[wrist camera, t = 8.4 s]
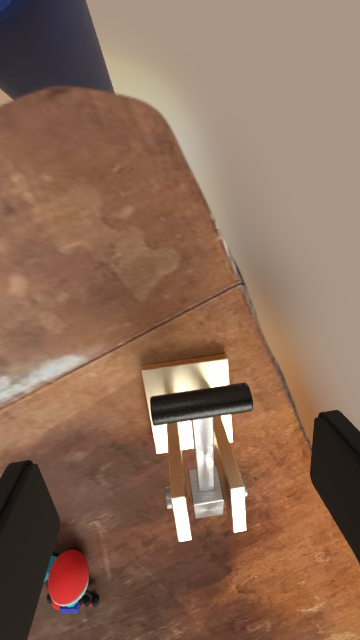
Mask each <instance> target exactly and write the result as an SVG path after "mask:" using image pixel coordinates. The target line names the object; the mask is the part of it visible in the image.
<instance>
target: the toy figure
mask: <svg viewBox="0 0 360 640" xmlns="http://www.w3.org/2000/svg"><path fill="white" fill-rule="evenodd" d="M46 579H48V591H49V594H48V595H47V601H48V603H52V605H53V608H54V609H58V610H60V612H61V613H62V614H71V613H72V614H78V612H79V608H80V606H86V607H88V606H93V607H96V606H97V605H98V604H99V601H100V600H99V595H98V594H94V595H93V596H92V594H90V593H89V592H88V591H87V590H86V589H87V586H88V581H89V567H88V563H87V561H86V558H85V557H84V555H83V554H82V553H81V552H79V551H77V550H72V549H71V550H67V551H64V552H63V553H61V554H60V555H59V556H58V557H55V556H51V560H50V563H49V566H48V570H47V573H46V577H45V580H44V582H45V581H46Z"/></svg>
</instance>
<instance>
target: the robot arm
mask: <svg viewBox="0 0 360 640" xmlns="http://www.w3.org/2000/svg"><path fill="white" fill-rule="evenodd" d="M310 477H311V481H312V483H313V485H314V487H315V489H316V490H317V492H318V494H319V495H320V497H321V499H322V500H323V502H324V504H325V505H326V507H327V509H328V510H329V512H330V514H331V515H332V517H333V519H334V520H335V522H336V524H337V525H338V527H339V529H340V530H341V532H342V534H343V535H344V537H345V539H346V540H347V542H348V544H349V545H350V547H351V549H352V550H353V552H354V554H355V555H356V557H357V559H358V560H359V562H360V431H358V429H357V428H356V427H355V426H354V425H353V424H352V423H351V422H350V421H349V420H348V419H347V418H346V417H345V416H344V415H343V414H342V413H341V412H340V411H338V410H333V411H327V412H321V413H319V415H318V418H315V420H314V431H313V443H312V456H311V468H310ZM59 527H60V519H59V516H58V513H57V511H56V508H55V506H54V504H53V501H52V499H51V496H50V494H49V491H48V489H47V487H46V484H45V482H44V479H43V477H42V474H41V472H40V469H39V467H38V465H37V464H33V463H32V461H30V460H27V461H21V462H15V463H10V464H9V465H8V466H7V468H6V469H5V471H4V473H3V475H2V476H1V478H0V640H27V638H28V635H29V631H30V628H31V625H32V621H33V618H34V614H35V611H36V608H37V604H38V601H39V597H40V594H41V590H42V587H43V584H44V580H45V577H46V573H47V570H48V566H49V563H50V560H51V556H52V553H53V549H54V546H55V543H56V539H57V536H58V532H59Z"/></svg>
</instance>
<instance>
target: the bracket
mask: <svg viewBox="0 0 360 640" xmlns="http://www.w3.org/2000/svg"><path fill="white" fill-rule="evenodd" d="M141 373H142V379H143V384H144V389H145V395H146V400H147V406H148V411H149V416H150V422H151V427H152V433H153V438H154V444H155V449H156V454H160V453H166V452H168V459H169V476H170V487H166V488H165V496H166V505H167V509H173V514H174V520H175V526H176V531H177V537H178V541H179V542H181V541H187V540H191V539H192V535H191V526H190V518H189V509H188V501H187V492H186V483H185V475H184V466H183V458H182V450H185V449H192V448H194V444H193V435H192V425H191V421H185V422H178V423H172V424H165V425H158V426H154V425H153V423H152V418H151V410H150V398H151V397H152V396H157V395H164V394H171V393H178V392H184V391H191V390H198V389H205V388H211V387H218V386H225V385H230V382H229V365H228V358H227V356H226V354H219V355H212V356H205V357H198V358H191V359H184V360H177V361H170V362H163V363H156V364H149V365H142V368H141ZM213 434H214V458H215V462H216V466H217V468H218V473H219V478H220V482H221V486H222V490H223V494H224V498H225V502H226V506H227V510H228V514H229V518H230V522H231V526H232V530H233V532H240V531H246V508H245V497H246V496H247V495H248V491H247V486H246V482H245V479H244V476H243V475H240V472H239V469H238V466H237V463H236V460H235V457H234V454H233V451H232V448H231V445H230V442H233V431H232V414H231V415H224V416H218V417H213Z"/></svg>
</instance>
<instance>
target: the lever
mask: <svg viewBox="0 0 360 640" xmlns="http://www.w3.org/2000/svg"><path fill="white" fill-rule="evenodd" d="M252 409H253V400H252V395H251V391H250V388H249V386H248V385H247V383H239V384H232V385H225V386H218V387H211V388H205V389H198V390H191V391H184V392H178V393H171V394H164V395H157V396H152V397H151V398H150V410H151V418H152V423H153V425H154V426H158V425H165V424H172V423H178V422H185V421H191V425H192V435H193V444H194V454H195V464H196V468H195V469H189V470H188V472H189V479H190V487H191V494H192V502H193V509H194V516H195V518H196V519H197V518H203V517H209V516H215V515H221V514H223V513H224V496H223V491H222V487H221V482H220V478H219V473H218V468H217V466H216V465H214V434H213V417H218V416H224V415H231V414H237V413H244V412H250V411H252Z"/></svg>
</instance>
